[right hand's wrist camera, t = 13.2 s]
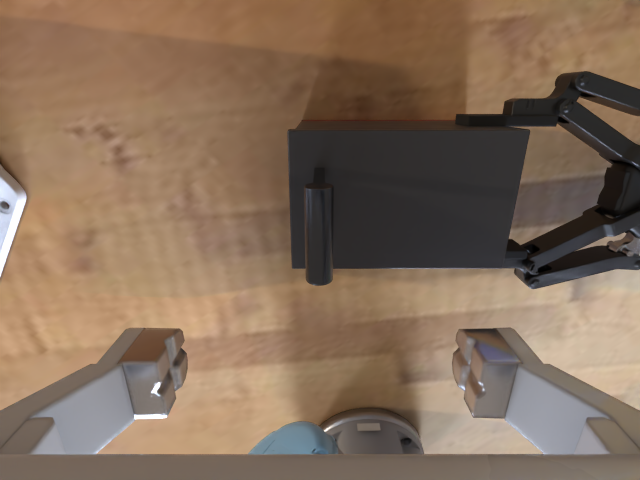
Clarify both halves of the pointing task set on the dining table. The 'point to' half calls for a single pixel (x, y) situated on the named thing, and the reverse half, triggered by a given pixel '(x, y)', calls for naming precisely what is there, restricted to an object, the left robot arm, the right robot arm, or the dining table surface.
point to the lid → (402, 198)
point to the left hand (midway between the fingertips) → (452, 188)
